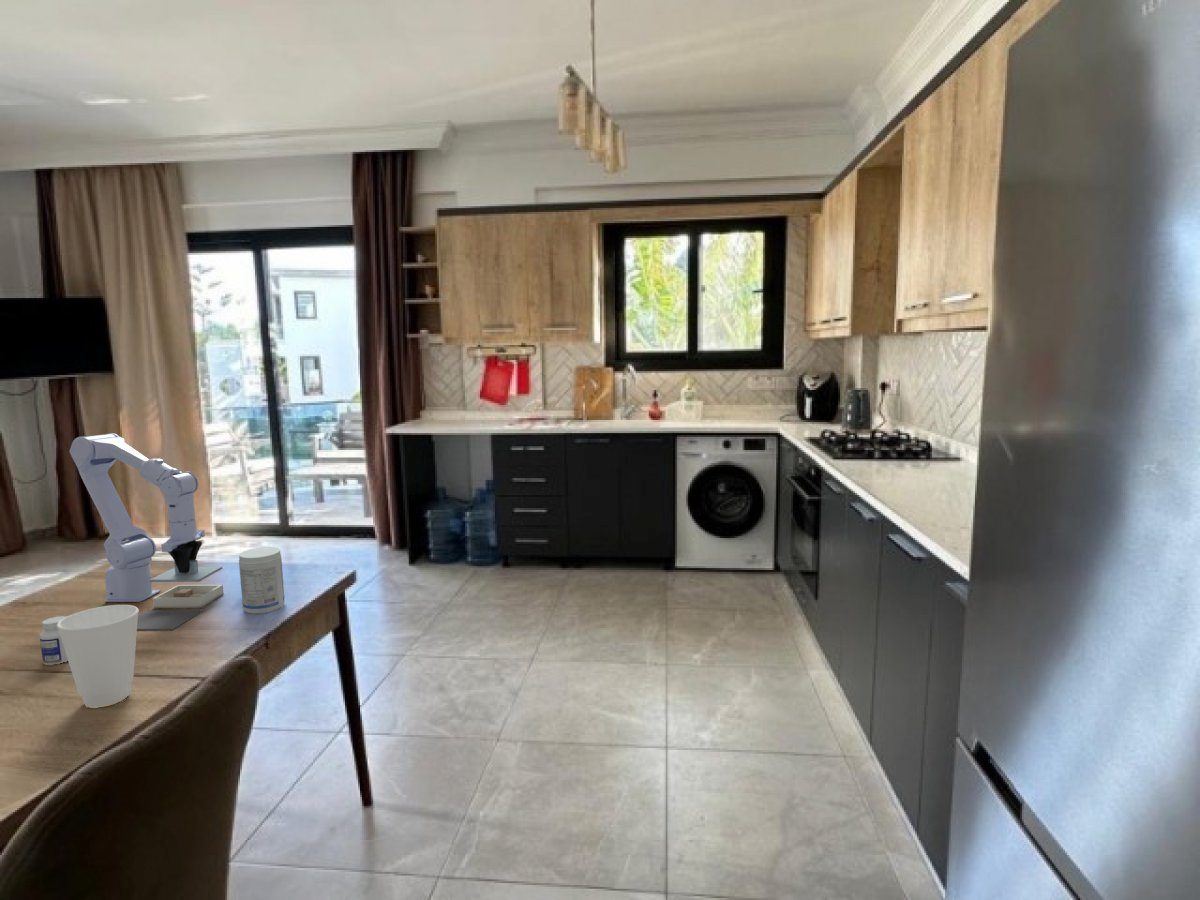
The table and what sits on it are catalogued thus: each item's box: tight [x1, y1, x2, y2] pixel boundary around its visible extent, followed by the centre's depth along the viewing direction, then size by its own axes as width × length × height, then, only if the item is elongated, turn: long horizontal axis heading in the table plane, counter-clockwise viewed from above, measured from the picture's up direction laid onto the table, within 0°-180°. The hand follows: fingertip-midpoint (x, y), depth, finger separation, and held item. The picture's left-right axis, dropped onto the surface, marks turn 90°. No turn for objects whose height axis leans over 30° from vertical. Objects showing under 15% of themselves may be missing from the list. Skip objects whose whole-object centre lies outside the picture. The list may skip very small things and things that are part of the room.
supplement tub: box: [238, 546, 286, 615], centre depth 163 cm, size 10×10×15 cm
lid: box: [149, 559, 223, 583], centre depth 168 cm, size 12×10×4 cm
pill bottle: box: [39, 615, 68, 666], centre depth 135 cm, size 5×5×9 cm
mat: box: [137, 609, 204, 631], centre depth 156 cm, size 14×12×1 cm
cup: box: [57, 604, 140, 706], centre depth 119 cm, size 12×12×16 cm
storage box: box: [152, 584, 224, 609], centre depth 169 cm, size 12×10×3 cm
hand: (186, 571), depth 168 cm, fingers closed on lid, 2 cm apart
